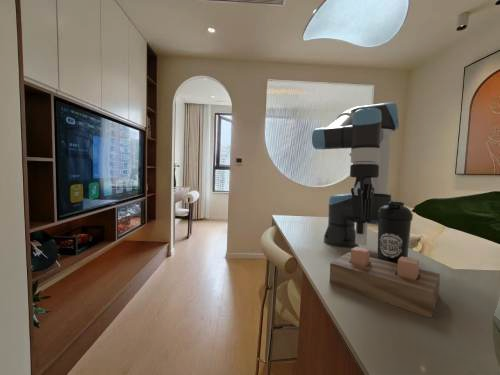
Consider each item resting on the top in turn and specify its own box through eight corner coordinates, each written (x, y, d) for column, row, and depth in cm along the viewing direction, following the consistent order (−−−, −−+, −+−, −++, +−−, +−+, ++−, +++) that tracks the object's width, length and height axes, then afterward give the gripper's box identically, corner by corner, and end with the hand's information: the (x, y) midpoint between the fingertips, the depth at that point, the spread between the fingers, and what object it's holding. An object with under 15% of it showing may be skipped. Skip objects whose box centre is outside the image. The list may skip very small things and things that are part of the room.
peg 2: (400, 277, 65) (401, 256, 65) (417, 281, 62) (419, 260, 62) (396, 281, 62) (397, 260, 62) (415, 286, 59) (416, 264, 59)
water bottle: (370, 269, 80) (374, 202, 79) (379, 261, 88) (382, 200, 87) (406, 278, 74) (410, 205, 72) (411, 269, 81) (415, 202, 80)
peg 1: (355, 264, 73) (356, 246, 73) (369, 268, 70) (370, 249, 70) (350, 268, 70) (351, 249, 70) (364, 272, 67) (365, 252, 67)
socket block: (347, 269, 80) (348, 252, 79) (438, 295, 63) (439, 273, 63) (329, 282, 70) (330, 262, 69) (431, 318, 53) (433, 292, 53)
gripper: (358, 165, 76) (355, 237, 77) (342, 162, 66) (339, 245, 68) (385, 164, 71) (381, 242, 72) (371, 162, 61) (367, 251, 62)
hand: (360, 244), depth 70 cm, fingers closed
